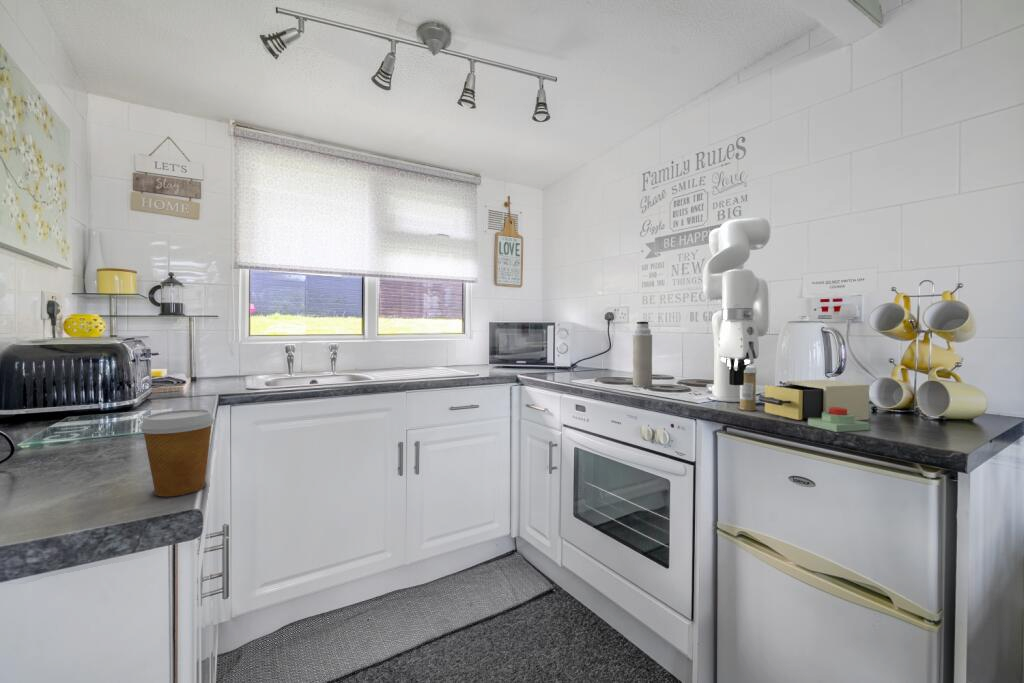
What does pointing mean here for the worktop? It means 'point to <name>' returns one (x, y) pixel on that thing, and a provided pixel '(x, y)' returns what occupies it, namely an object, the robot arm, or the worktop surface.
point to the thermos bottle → (642, 356)
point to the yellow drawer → (793, 401)
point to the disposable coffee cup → (178, 449)
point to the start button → (837, 411)
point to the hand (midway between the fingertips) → (736, 384)
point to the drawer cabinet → (841, 396)
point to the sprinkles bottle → (748, 390)
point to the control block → (838, 422)
